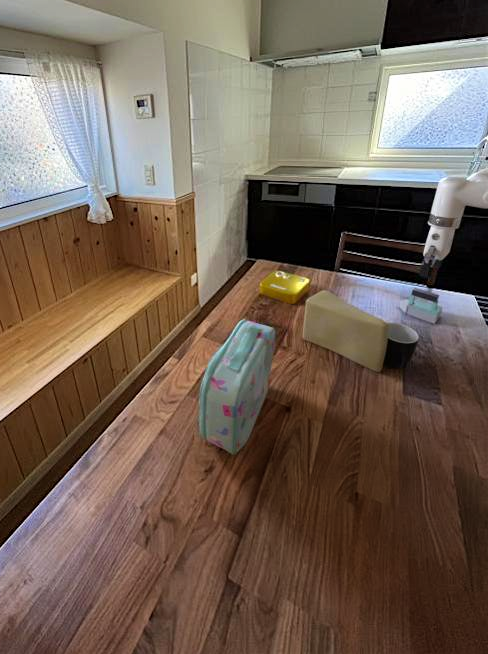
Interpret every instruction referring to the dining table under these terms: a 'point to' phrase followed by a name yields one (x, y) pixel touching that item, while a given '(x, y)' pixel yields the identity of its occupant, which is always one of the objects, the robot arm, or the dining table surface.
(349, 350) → the cheese
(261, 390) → the lunch box
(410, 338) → the mug
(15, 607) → the dining table surface
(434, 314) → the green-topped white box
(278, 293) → the element tile
